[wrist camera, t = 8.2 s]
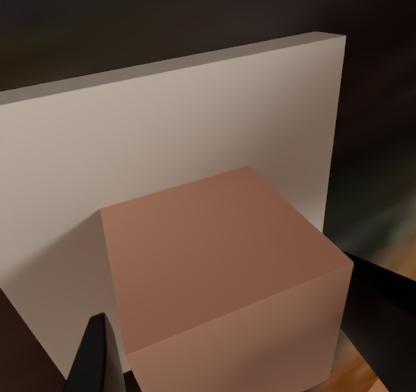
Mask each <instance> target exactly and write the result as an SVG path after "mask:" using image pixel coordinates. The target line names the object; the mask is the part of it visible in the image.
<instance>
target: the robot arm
mask: <svg viewBox="0 0 416 392" xmlns="http://www.w3.org/2000/svg"><path fill="white" fill-rule="evenodd" d="M341 251H342V250H341ZM342 252H343V253H344V254H345V255H346V256H347V257H349V258H350V259H351V260H352V261H353V262H354V265H353V270H352V274H351V279H350V284H349V288H348V293H347V298H346V302H345V307H344V312H343V316H342V321H341V326H340V328H341V329H342V331H343V332H344V333H345V335H346V336H347V337H348V339H349V340H350V341H351V342H352V344H353V345H354V346H355V348H356V349H357V350H358V352H359V353H360V354H361V356H362V357H363V358H364V359H365V361H366V362H367V363H368V365H369V366H370V367H371V369H372V370H373V371H374V373H375V374H376V375H377V376H378V378H379V379H380V380H381V382H382V383H383V384H384V385H385V387H386V388H387V390H388V391H389V392H416V281H414V280H411V279H409V278H407V277H404V276H402V275H399V274H397V273H395V272H392V271H390V270H387V269H385V268H383V267H380V266H378V265H375V264H373V263H371V262H368V261H366V260H364V259H361V258H359V257H356V256H354V255H352V254H349V253H347V252H344V251H342ZM62 392H126V389H125V382H124V376H123V372H122V367H121V362H120V358H119V353H118V348H117V344H116V339H115V334H114V331H113V328H112V326H111V324H110V322H109V319H108V317H107V315H106V314H105V313H104V312H101V313H99V314H96V315H93V316H91V317H90V319H89V321H88V324H87V326H86V329H85V332H84V334H83V337H82V340H81V342H80V345H79V348H78V351H77V353H76V356H75V359H74V361H73V364H72V367H71V369H70V372H69V375H68V377H67V380H66V383H65V385H64V388H63V391H62Z"/></svg>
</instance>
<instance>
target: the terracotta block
mask: <svg viewBox="0 0 416 392" xmlns="http://www.w3.org/2000/svg"><path fill="white" fill-rule="evenodd" d="M100 211H101V217H102V223H103V229H104V234H105V240H106V246H107V252H108V258H109V264H110V269H111V275H112V281H113V287H114V293H115V299H116V305H117V310H118V316H119V322H120V328H121V334H122V340H123V345H124V351H125V356H126V358H127V361H128V363H129V365H130V367H131V369H132V371H133V374H134V376H135V378H136V380H137V382H138V384H139V387H140V389H141V391H142V392H303V391H305V390H307V389H309V388H311V387H313V386H315V385H317V384H319V383H321V382H323V381H325V380H327V379H329V377H330V373H331V368H332V363H333V359H334V354H335V349H336V345H337V340H338V335H339V330H340V326H341V321H342V316H343V312H344V307H345V302H346V298H347V293H348V288H349V284H350V279H351V274H352V270H353V265H354V262H353V261H352V260H351V259H350V258H349V257H347V256H346V255H345V254H344V253H343V252H342V251H341V250H340V249H339V248H338V247H337V246H336V245H334V244H333V243H332V242H331V241H330V240H329V239H328V238H327V237H326V236H325V235H324V234H322V233H321V232H320V231H319V230H318V229H317V228H316V227H315V226H314V225H313V224H312V223H310V222H309V221H308V220H307V219H306V218H305V217H304V216H303V215H302V214H301V213H300V212H299V211H297V210H296V209H295V208H294V207H293V206H292V205H291V204H290V203H289V202H288V201H287V200H285V199H284V198H283V197H282V196H281V195H280V194H279V193H278V192H277V191H276V190H275V189H274V188H272V187H271V186H270V185H269V184H268V183H267V182H266V181H265V180H264V179H263V178H262V177H260V176H259V175H258V174H257V173H256V172H255V171H254V170H253V169H252V168H251V167H250V166H245V167H242V168H238V169H235V170H231V171H228V172H224V173H221V174H217V175H214V176H211V177H207V178H204V179H200V180H197V181H193V182H190V183H186V184H183V185H180V186H176V187H173V188H169V189H166V190H162V191H159V192H155V193H152V194H149V195H145V196H142V197H138V198H135V199H131V200H128V201H124V202H121V203H118V204H114V205H111V206H107V207H104V208H100Z"/></svg>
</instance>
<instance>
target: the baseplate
mask: <svg viewBox="0 0 416 392" xmlns="http://www.w3.org/2000/svg"><path fill="white" fill-rule="evenodd" d="M345 42H346V36H345V35H338V34H331V33H323V32H316V31H315V32H310V33H305V34H299V35H294V36H289V37H284V38H279V39H273V40H268V41H263V42H258V43H252V44H247V45H242V46H237V47H232V48H226V49H221V50H216V51H211V52H206V53H200V54H195V55H190V56H185V57H180V58H174V59H169V60H164V61H159V62H154V63H148V64H143V65H138V66H133V67H127V68H122V69H117V70H112V71H107V72H101V73H96V74H91V75H86V76H81V77H75V78H70V79H65V80H60V81H55V82H49V83H44V84H39V85H34V86H28V87H23V88H18V89H13V90H8V91H2V92H0V288H1V289H2V291H3V292H4V293H5V295H6V296H7V298H8V299H9V300H10V302H11V303H12V305H13V306H14V307H15V309H16V310H17V312H18V313H19V314H20V316H21V317H22V319H23V320H24V321H25V323H26V324H27V326H28V327H29V328H30V330H31V331H32V333H33V334H34V335H35V337H36V338H37V340H38V341H39V342H40V344H41V345H42V347H43V348H44V349H45V351H46V352H47V354H48V355H49V356H50V358H51V359H52V361H53V362H54V363H55V365H56V366H57V368H58V369H59V370H60V372H61V373H62V375H63V376H64V377H65V379H66V380H67V377H68V375H69V372H70V369H71V367H72V364H73V361H74V359H75V356H76V353H77V351H78V348H79V345H80V342H81V340H82V337H83V334H84V332H85V329H86V326H87V324H88V321H89V319H90V317H91V316H93V315H96V314H99V313H101V312H104V313H105V314H106V315H107V317H108V319H109V322H110V324H111V326H112V328H113V331H114V334H115V339H116V344H117V348H118V353H119V358H120V362H121V367H122V372H123V373H125V372H127V371H129V370H132V369H131V367H130V365H129V363H128V361H127V358H126V356H125V351H124V345H123V340H122V334H121V328H120V322H119V316H118V310H117V305H116V299H115V293H114V287H113V281H112V275H111V269H110V264H109V258H108V252H107V246H106V240H105V234H104V229H103V223H102V217H101V211H100V208H104V207H107V206H111V205H114V204H118V203H121V202H124V201H128V200H131V199H135V198H138V197H142V196H145V195H149V194H152V193H155V192H159V191H162V190H166V189H169V188H173V187H176V186H180V185H183V184H186V183H190V182H193V181H197V180H200V179H204V178H207V177H211V176H214V175H217V174H221V173H224V172H228V171H231V170H235V169H238V168H242V167H245V166H250V167H251V168H252V169H253V170H254V171H255V172H256V173H257V174H258V175H259V176H260V177H262V178H263V179H264V180H265V181H266V182H267V183H268V184H269V185H270V186H271V187H272V188H274V189H275V190H276V191H277V192H278V193H279V194H280V195H281V196H282V197H283V198H284V199H285V200H287V201H288V202H289V203H290V204H291V205H292V206H293V207H294V208H295V209H296V210H297V211H299V212H300V213H301V214H302V215H303V216H304V217H305V218H306V219H307V220H308V221H309V222H310V223H312V224H313V225H314V226H315V227H316V228H317V229H318V230H319V231H320V232H321V233H322V230H323V222H324V214H325V206H326V197H327V189H328V181H329V173H330V165H331V156H332V148H333V140H334V132H335V124H336V116H337V107H338V99H339V91H340V83H341V75H342V66H343V58H344V50H345Z"/></svg>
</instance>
